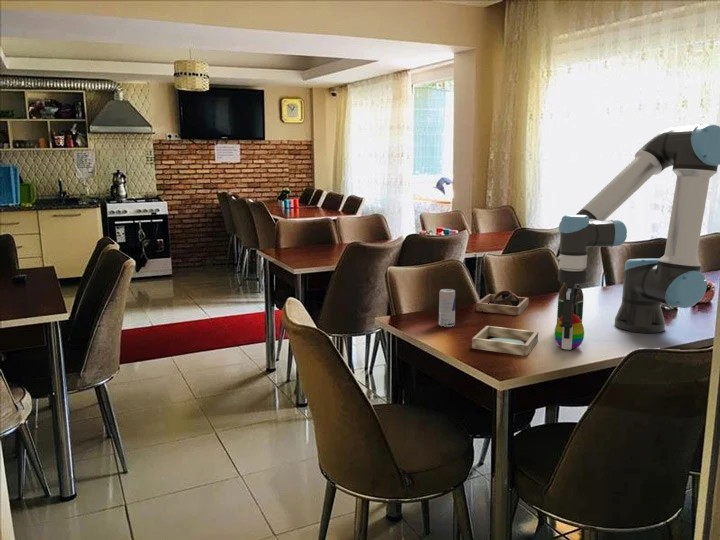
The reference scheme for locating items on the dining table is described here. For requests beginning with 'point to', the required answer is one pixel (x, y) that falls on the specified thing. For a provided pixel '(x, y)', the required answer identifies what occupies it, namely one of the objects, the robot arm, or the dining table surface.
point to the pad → (508, 340)
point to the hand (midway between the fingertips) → (568, 344)
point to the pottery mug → (506, 298)
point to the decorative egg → (576, 334)
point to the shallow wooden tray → (505, 347)
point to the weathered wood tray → (502, 309)
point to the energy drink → (447, 307)
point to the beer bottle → (560, 303)
